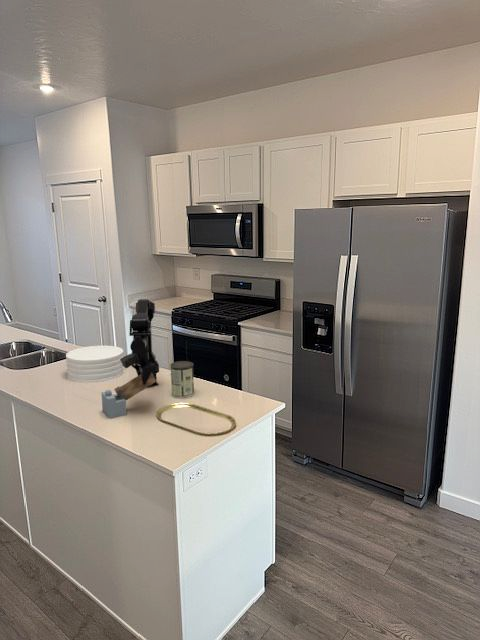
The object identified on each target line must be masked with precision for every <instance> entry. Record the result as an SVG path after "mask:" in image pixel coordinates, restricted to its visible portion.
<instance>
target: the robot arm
mask: <svg viewBox="0 0 480 640" xmlns="http://www.w3.org/2000/svg"><path fill="white" fill-rule="evenodd" d="M155 314H156V304H155V302H153V301H151V300H150V299H148V298H139V299H138V300H137V302H136V303H135V314H134V315H132V317H131V319H130V320H129V336H130V337H133V338H132V341H131V342H130V350H131V353H128V354H126V355H125V356H124V357H123V358H121V359H120V361H121V363H122V365H123V366H124V369H129V368H130V367H132V368H133V369H134V370H135V372H136V374H137V376H138V375H140V374H141V377H142V382H143V385H145V384H146V383H147V381H148V378H149V376H150V374H151V372H152V373H153V375H154V377H155V379H156V382H154V383H153V384H151V385H150V386H148V387H147V388H151V387H154V386H159V383H158V381H157V377H158V376H157V374H158V373H160V365H159V363H158V360H157V357H156V354H155V353H154V352H153V342H152V341H153V338H152V337H153V336H152V321H153V319H154V317H155Z"/></svg>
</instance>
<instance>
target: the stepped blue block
mask: <svg viewBox="0 0 480 640" xmlns="http://www.w3.org/2000/svg"><path fill="white" fill-rule="evenodd" d="M100 393H101V403H102V404H101V406H102V412H103V413H104V414H105V415H106V416H107V418H108V419H113V418H117V417H118V418H119V417H121V416H126V415H127V400H125V399H122V400H120V399H119V397H118V395H117V393H115V394H113V393H112V390H110V389H107V390H105V391H102V392H100Z"/></svg>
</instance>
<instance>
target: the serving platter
mask: <svg viewBox="0 0 480 640" xmlns="http://www.w3.org/2000/svg"><path fill="white" fill-rule="evenodd" d="M177 408H178V409H179V408H188V409H192V410H196V411H199V412H203V413H205V414H206V413H207V414H209V415H212V416H216V417H219V418H222V419H224V420H227V421H229V422H230V424H231V426H230V427H229V429H227V430H223V431H219V432H210V433H209V432H200V431H197V430H194V429H190V428H188V427H185V426H182V425H179V424H176V423H173V422H170V421H168V420H165V419H163V418H162V415H163V413H165V412H167V411H169V410H172V409H177ZM156 417H157V418H158V419H159V420H160V421H162V422H164V423H166V424H170V425H172V426H175V427H178V428H180V429H184V430H185V431H188V432H192V433H195V434H198V435H201V436H202V435H203V436H216V435H217V436H219V435H222V434H226V433H228V432H230V431H231V430H233V429H234V428H235V426H236V424H237V422H236V418H234V416H231V415H229V414H227V413H223V412H220V411H217V410H214V409H210V408H208V407H204V406H201V405H198V404H194V403H190V402H189V403H188V402H179V403H171V404H167V405H165V406H162V407H160V408H159V409H158V410H157V411H156Z"/></svg>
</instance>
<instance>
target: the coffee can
mask: <svg viewBox="0 0 480 640" xmlns="http://www.w3.org/2000/svg"><path fill="white" fill-rule="evenodd" d="M169 367H170V381H171V385H170V386H171V396H172V397H174V398H179V399H186V398H190V397H192V396H194V394H195V384H194V383H195V382H194V363H193V362H191V361H188V360H179V361H174V362H172V363H170V365H169Z"/></svg>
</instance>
